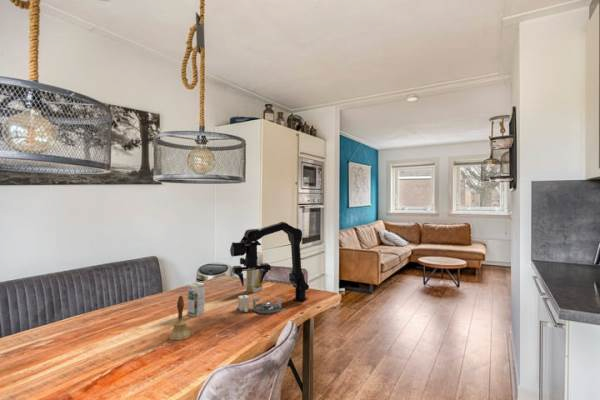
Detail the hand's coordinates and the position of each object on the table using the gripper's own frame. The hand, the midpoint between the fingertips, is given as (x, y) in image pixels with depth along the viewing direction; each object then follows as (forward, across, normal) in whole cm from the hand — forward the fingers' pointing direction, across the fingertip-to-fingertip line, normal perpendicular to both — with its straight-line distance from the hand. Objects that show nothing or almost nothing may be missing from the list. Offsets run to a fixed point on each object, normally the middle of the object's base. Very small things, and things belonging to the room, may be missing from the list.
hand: (251, 285), depth 161 cm
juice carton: (+12, -10, -29) cm, 33 cm away
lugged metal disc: (+12, -6, +5) cm, 14 cm away
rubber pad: (+11, +5, +1) cm, 12 cm away
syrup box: (+11, +27, -1) cm, 29 cm away
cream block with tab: (+11, +4, +1) cm, 12 cm away
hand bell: (+11, +36, +22) cm, 43 cm away
